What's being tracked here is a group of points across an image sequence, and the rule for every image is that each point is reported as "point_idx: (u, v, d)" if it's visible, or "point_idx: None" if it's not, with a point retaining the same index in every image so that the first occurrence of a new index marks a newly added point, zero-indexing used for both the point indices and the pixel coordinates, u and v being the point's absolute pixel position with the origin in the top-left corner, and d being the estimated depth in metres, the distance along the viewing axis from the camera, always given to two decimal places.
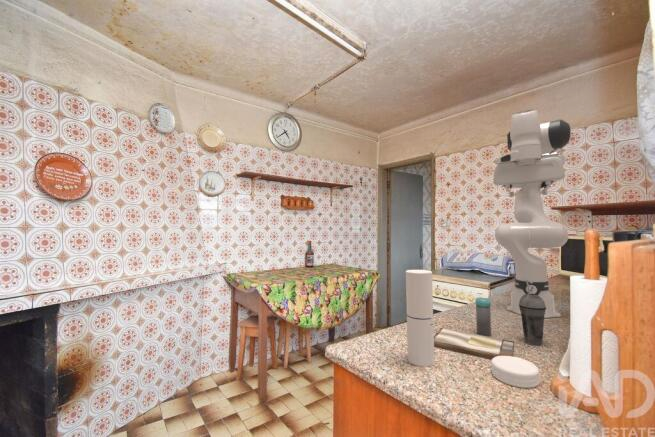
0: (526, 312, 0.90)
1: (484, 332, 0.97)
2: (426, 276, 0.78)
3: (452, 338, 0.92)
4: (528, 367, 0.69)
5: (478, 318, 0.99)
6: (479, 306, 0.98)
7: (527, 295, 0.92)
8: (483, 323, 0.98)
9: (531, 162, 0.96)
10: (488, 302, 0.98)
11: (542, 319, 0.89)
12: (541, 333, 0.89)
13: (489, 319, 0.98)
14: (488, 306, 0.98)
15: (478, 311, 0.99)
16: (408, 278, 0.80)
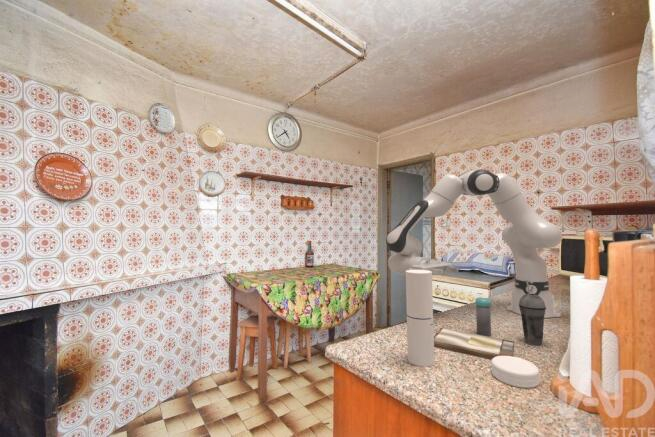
0: (526, 312, 0.90)
1: (484, 332, 0.97)
2: (426, 276, 0.78)
3: (452, 338, 0.92)
4: (528, 367, 0.69)
5: (478, 318, 0.99)
6: (479, 306, 0.98)
7: (527, 295, 0.92)
8: (483, 323, 0.98)
9: None
10: (488, 302, 0.98)
11: (542, 319, 0.89)
12: (541, 333, 0.89)
13: (489, 319, 0.98)
14: (488, 306, 0.98)
15: (478, 311, 0.99)
16: (408, 278, 0.80)
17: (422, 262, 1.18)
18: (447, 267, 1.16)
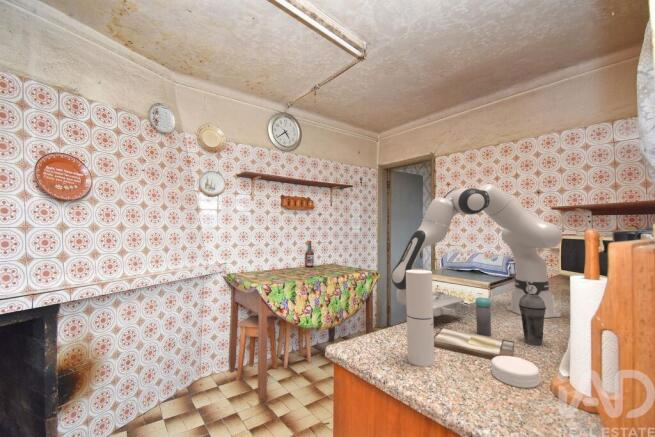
0: (526, 312, 0.90)
1: (484, 332, 0.97)
2: (426, 276, 0.78)
3: (452, 338, 0.92)
4: (528, 367, 0.69)
5: (478, 318, 0.99)
6: (479, 306, 0.98)
7: (527, 295, 0.92)
8: (483, 323, 0.98)
9: None
10: (488, 302, 0.98)
11: (542, 319, 0.89)
12: (541, 333, 0.89)
13: (489, 319, 0.98)
14: (488, 306, 0.98)
15: (478, 311, 0.99)
16: (408, 278, 0.80)
17: None
18: (458, 304, 1.13)
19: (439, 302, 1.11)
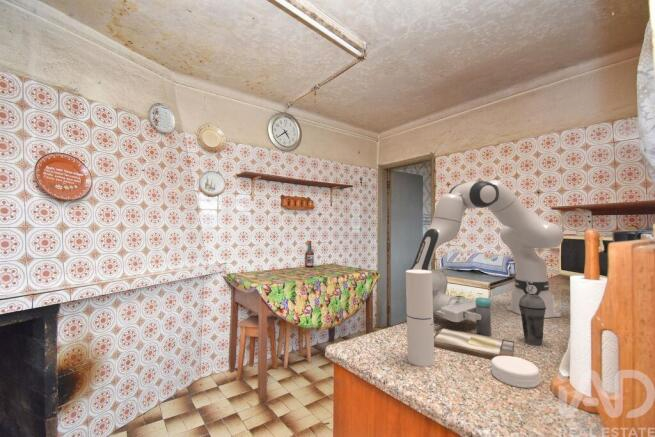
0: (526, 312, 0.90)
1: (484, 332, 0.97)
2: (426, 276, 0.78)
3: (452, 338, 0.92)
4: (528, 367, 0.69)
5: None
6: (479, 306, 0.98)
7: (527, 295, 0.92)
8: (483, 323, 0.98)
9: None
10: (488, 302, 0.98)
11: (542, 319, 0.89)
12: (541, 333, 0.89)
13: (489, 319, 0.98)
14: (488, 306, 0.98)
15: (478, 311, 0.99)
16: (408, 278, 0.80)
17: (452, 302, 1.07)
18: None
19: (460, 306, 1.04)
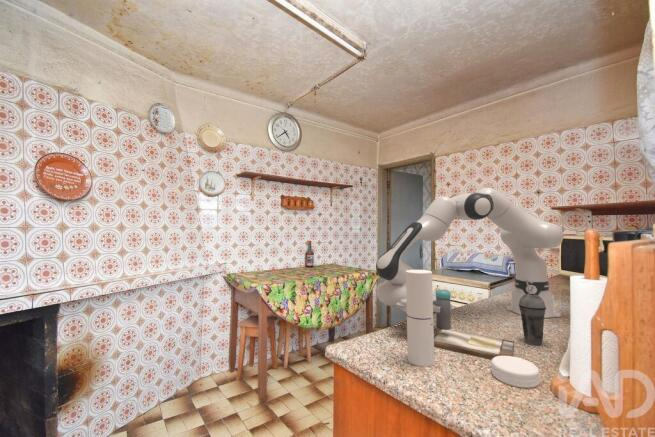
0: (526, 312, 0.90)
1: (443, 325, 0.93)
2: (426, 276, 0.78)
3: (452, 338, 0.92)
4: (528, 367, 0.69)
5: None
6: (439, 298, 0.94)
7: (527, 295, 0.92)
8: (442, 316, 0.93)
9: None
10: (447, 294, 0.93)
11: (542, 319, 0.89)
12: (541, 333, 0.89)
13: (448, 312, 0.93)
14: (447, 298, 0.93)
15: (437, 303, 0.94)
16: (408, 278, 0.80)
17: None
18: None
19: None
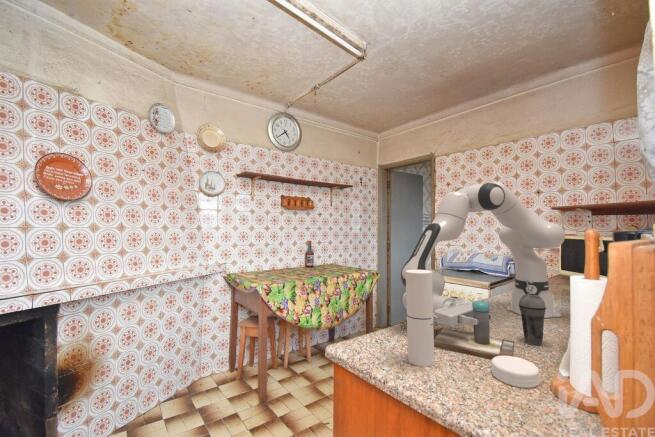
0: (526, 312, 0.90)
1: (482, 340, 0.86)
2: (426, 276, 0.78)
3: (452, 338, 0.92)
4: (528, 367, 0.69)
5: None
6: (477, 310, 0.87)
7: (527, 295, 0.92)
8: (481, 330, 0.86)
9: None
10: (486, 306, 0.86)
11: (542, 319, 0.89)
12: (541, 333, 0.89)
13: (488, 325, 0.87)
14: (486, 311, 0.86)
15: (475, 316, 0.88)
16: (408, 278, 0.80)
17: (446, 304, 0.96)
18: None
19: (455, 309, 0.93)
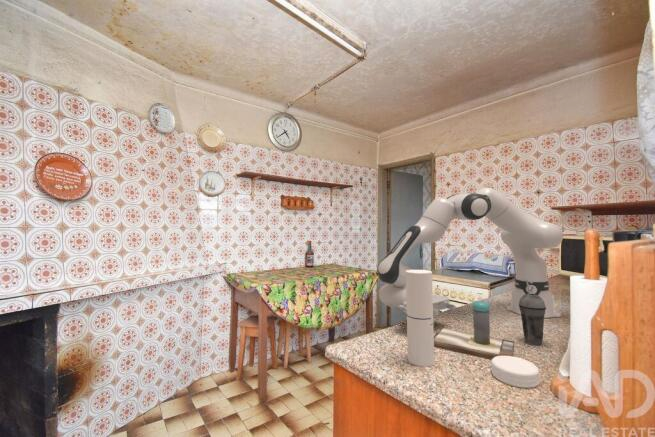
0: (526, 312, 0.90)
1: (482, 340, 0.86)
2: (426, 276, 0.78)
3: (452, 338, 0.92)
4: (528, 367, 0.69)
5: (475, 324, 0.88)
6: (477, 310, 0.87)
7: (527, 295, 0.92)
8: (481, 330, 0.86)
9: None
10: (487, 306, 0.87)
11: (542, 319, 0.89)
12: (541, 333, 0.89)
13: (488, 325, 0.87)
14: (487, 311, 0.87)
15: (475, 316, 0.88)
16: (408, 278, 0.80)
17: None
18: (443, 303, 1.05)
19: None
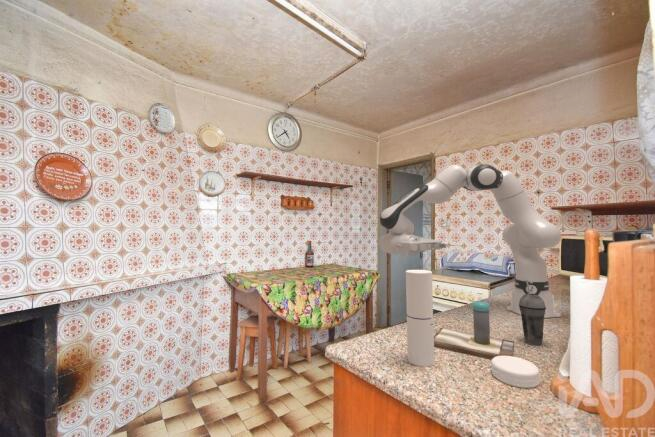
0: (526, 312, 0.90)
1: (482, 340, 0.86)
2: (426, 276, 0.78)
3: (452, 338, 0.92)
4: (528, 367, 0.69)
5: (475, 324, 0.88)
6: (477, 310, 0.87)
7: (527, 295, 0.92)
8: (481, 330, 0.86)
9: (413, 252, 1.20)
10: (487, 306, 0.87)
11: (542, 319, 0.89)
12: (541, 333, 0.89)
13: (488, 325, 0.87)
14: (487, 311, 0.87)
15: (475, 316, 0.88)
16: (408, 278, 0.80)
17: (411, 239, 1.20)
18: (436, 244, 1.18)
19: (417, 241, 1.16)
